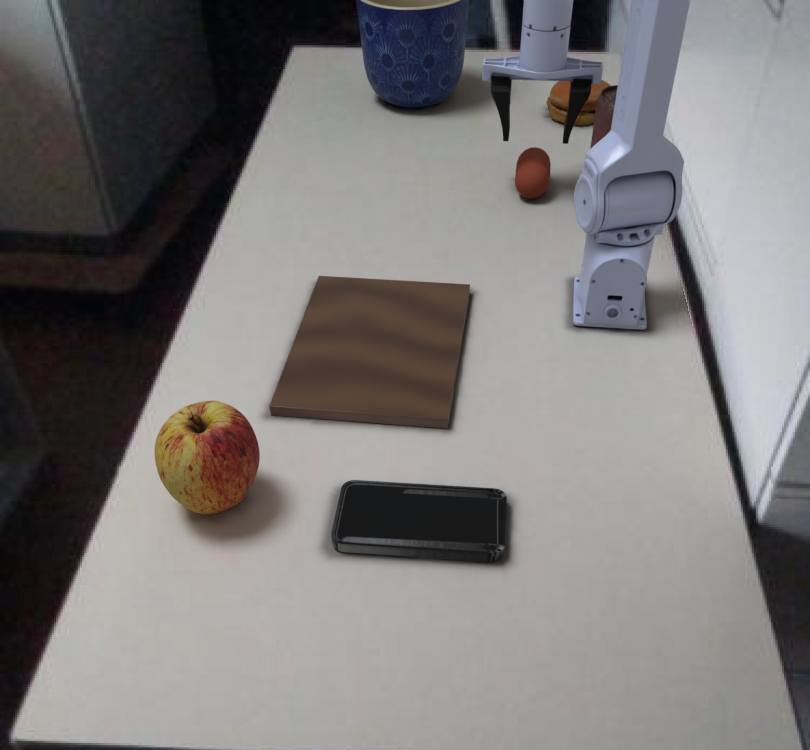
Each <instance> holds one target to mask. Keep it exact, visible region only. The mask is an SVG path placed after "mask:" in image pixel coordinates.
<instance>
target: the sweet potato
mask: <svg viewBox="0 0 810 750" xmlns="http://www.w3.org/2000/svg"><path fill="white" fill-rule="evenodd" d="M551 163H552V162H551V158H550V155H549V154H548V153H547V151H545V150H544V149H543V148H541V147H534V146H531V147H528V148H526V149H525V150H523V151H522V152H521V153H520V155H519V156H518V159H517V161H516V167H515V173H514V186H515V189H516V191H517V192H518V194H519V195H521V196H522V197H524V198H527V199H536V198H540V197H541V196H542V195H543V194H544V193H545V192H546V191H547V190H548V189H549V185H550V180H551V168H552V167H551V165H552V164H551Z"/></svg>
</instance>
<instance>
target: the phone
mask: <svg viewBox="0 0 810 750" xmlns="http://www.w3.org/2000/svg"><path fill="white" fill-rule="evenodd" d="M507 497H508V496H507V494H506V493H505V492H504V491H503V490H502V489H499V488H494V487H480V486H463V485H445V484H428V483H411V482H397V481H378V480H364V479H363V480H362V479H350V480H347V481H345V482H344V483H343V484H342V485H341V487H340V491H339V496H338V500H337V505H336V510H335V515H334V520H333V524H332V529H331V532H330V537H331V538H330V539H331V543H332V547H333V548H334V549H335V551H338V552H341V553H349V554H350V553H353V554H368V555H380V556H381V555H382V556H384V555H385V556H395V557H410V558H425V559H440V560H442V559H443V560H453V561H455V560H456V561H469V562H484V563H495V562H498V561H500V560H501V559H502V558H503V557H504V555H505V547H506V529H507V527H506V525H507V504H508V503H507V502H508V498H507Z"/></svg>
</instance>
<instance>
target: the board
mask: <svg viewBox="0 0 810 750" xmlns="http://www.w3.org/2000/svg"><path fill="white" fill-rule="evenodd" d="M470 294H471V284H469V283H453V282H452V283H451V282H438V281H437V282H435V281H417V280H399V279H384V278H382V279H381V278H365V277H349V276H332V275H318V277H317V279H316V282H315V285H314V288H313V289H312V293H311V295H310V298H309V301H308V303H307V306H306V308H305V311H304V314H303V317H302V319H301V321H300V324H299V326H298V329H297V332H296V334H295V337H294V340H293V343H292V345H291V348H290V350H289V353H288V355H287V358H286V361H285V363H284V366H283V369H282V372H281V374H280V376H279V379H278V382H277V384H276V388H275V390H274V393H273V395H272V398H271V400H270V403H269V405H268V407H269V412H270V415H271V416H279V417H293V418H306V419H318V420H331V421H345V422H356V423H357V422H359V423H369V424H384V425H395V426H397V425H398V426H409V427H421V428H422V427H423V428H435V429H448V428H449V423H450V417H451V409H452V405H453V398H454V391H455V386H456V379H457V374H458V367H459V361H460V356H461V350H462V343H463V337H464V331H465V324H466V319H467V313H468V306H469V301H470Z"/></svg>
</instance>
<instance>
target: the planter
mask: <svg viewBox="0 0 810 750" xmlns="http://www.w3.org/2000/svg"><path fill="white" fill-rule="evenodd" d="M355 2H356V3H355V4H356V10H357V18H358V19H357V20H358V27H359V34H360V43H361V51H362V60H363V66H364V71H365V75H366V77H367V81H368V83H369V85H370V86H371V88H372V90H373V91H374V93H375V94H376V95H377V96H378V97H379V98H380V99H381V100H383V101H384V102H386V103H388V104H390V105H392V106H396V107H400V108H408V109H409V108H411V109H416V108H417V109H419V108H425V107H426V108H427V107H429V106H435V105H436V104H438V103H441V102H442V101H444V100H445V99H447V98H448V97H449V96H450V95H451V94H452V93H453V92H454V90H455V89H456V88H457V85H459V81H460V79H461V77H462V73H463V69H464V64H465V63H464V62H465V52H466V44H467V34H468V33H467V32H468V22H469V21H468V20H469V9H470V0H355Z"/></svg>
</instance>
